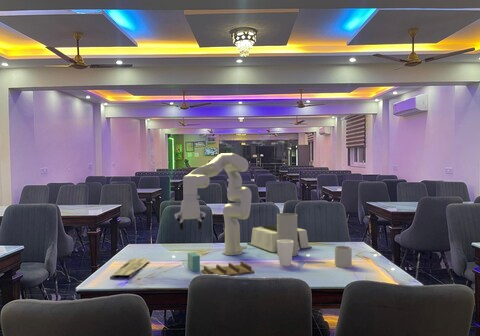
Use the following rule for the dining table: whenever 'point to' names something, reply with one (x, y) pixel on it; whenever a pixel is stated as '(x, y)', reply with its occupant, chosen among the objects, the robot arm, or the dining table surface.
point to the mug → (343, 256)
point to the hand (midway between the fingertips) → (190, 229)
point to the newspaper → (130, 267)
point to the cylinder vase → (287, 229)
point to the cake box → (274, 238)
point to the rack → (229, 269)
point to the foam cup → (285, 251)
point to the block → (194, 261)
